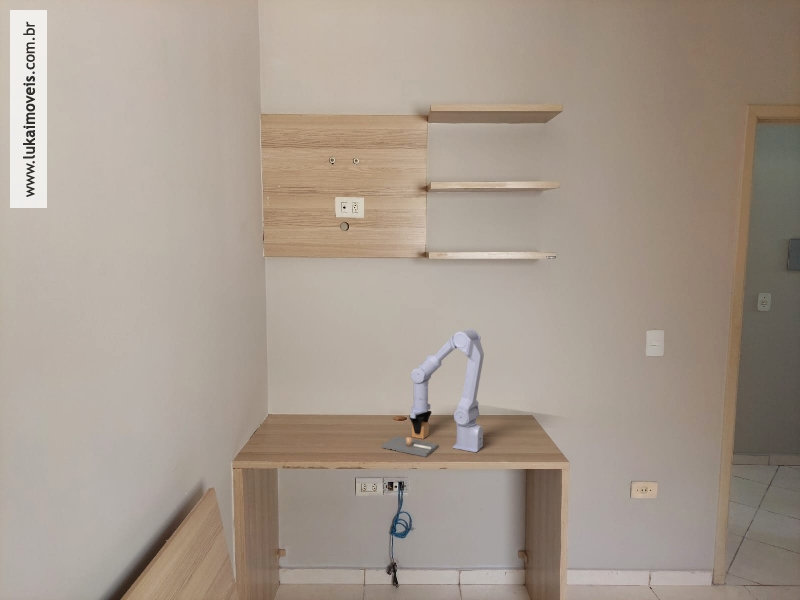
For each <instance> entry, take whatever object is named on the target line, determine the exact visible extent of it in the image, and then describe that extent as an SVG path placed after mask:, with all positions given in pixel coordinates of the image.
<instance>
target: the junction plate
mask: <svg viewBox="0 0 800 600" xmlns="http://www.w3.org/2000/svg"><path fill="white" fill-rule="evenodd" d="M438 447H439V444H438V443H434V442H429V441H423V440H419V439H414V438H413V437H412V436H406V437H401V436H397V435H396V436H394V437H392V438H391V439H389V440H387V442H385V443H383V444H381V448H382V449H385V448H386V450H390V449H392V451H395V450H396V452H400V453H401V452H402V453H406V454H409V455H410V454H411V455H415V456H419V457H427V456H429V455H430V454H431V453H432V452H434V451H435V450H437V448H438Z"/></svg>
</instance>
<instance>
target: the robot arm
mask: <svg viewBox="0 0 800 600" xmlns="http://www.w3.org/2000/svg"><path fill="white" fill-rule="evenodd" d="M481 339H482V338H481V336H480V335H479V332H477V330H475V329H474V328H469V329H465V330H462V331H457V332H455V333H454V335H452V336H451V337H449V339H447V342H445V343H444V344H443V346H442V347H441V348H440V349H439V350H438V351H437V352H436V353H435V354H430V355H427V356H426V357H425V360H424V361H423V362H422V363H419V364H418V367H416V368H413V369H412V371H411V373H410V378H411V380H412V382H413V401H412V403H413V404H412V405H413V406H411V407H410V410H411V412H409V413H410V414H409V416H408V417H409V420H410V422H411V423H412V424H413V428H414V432H415V433H417V434H420V431H421V424H422V422H427V423H429V419H430V417H431V415H432V411H431V403H429V381H430V379H432V375H433V374H435V372H436V371H438V369H439V368H440V367H441V366H442V361H443V360H444V359H445V358H447V356H449V354H451V353H452V352H453V351H455V350H456V349H458V350H459V351H461V352H462V353H464V354H465V356H466V357H467V366H466V370H465V371H466V372H465V377H464V384H463V388H462V395H461V399H460V400H459V402H458V404H457V408H456V410H455V411H454V413H453V420H454V422H455V423H456V442H455V444H454V445H453V446H452V449H457V450H462V451H468V452H472V453H478V451H480V450H481V449H482V448H483V446H484V444H483V442H484V440H483V439H484V428H483V426H482V425H479V424H477V419H478V417H479V416H480V409H479V401H478V400H477V397H478V391H479V385H480V380H481V376H482V375H481V373H482V369H483V361H484V356H485V353H484V350H483V347H482V341H481ZM412 424H411V425H412Z"/></svg>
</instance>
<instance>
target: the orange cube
mask: <svg viewBox="0 0 800 600" xmlns="http://www.w3.org/2000/svg"><path fill="white" fill-rule="evenodd" d="M429 431H430V423H429V422H428V423H427V422H422V424H421V431H420V434H417V433H415V432H414V428H413V424H411V437H412V438H417V439H423V440H424V439H425V438H426V437H428V436H429V434H430V432H429Z"/></svg>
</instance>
